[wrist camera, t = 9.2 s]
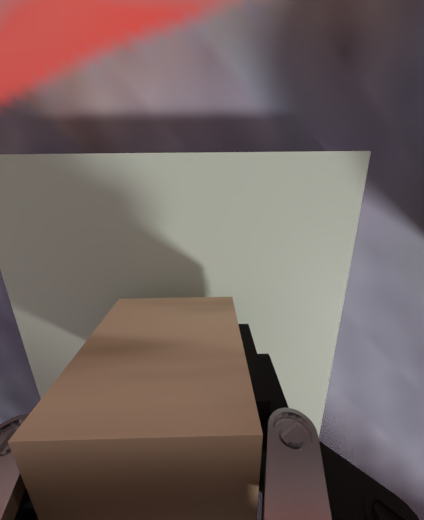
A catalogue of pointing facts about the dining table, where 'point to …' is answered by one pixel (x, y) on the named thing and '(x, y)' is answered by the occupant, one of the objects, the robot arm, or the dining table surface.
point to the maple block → (148, 420)
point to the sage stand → (184, 248)
